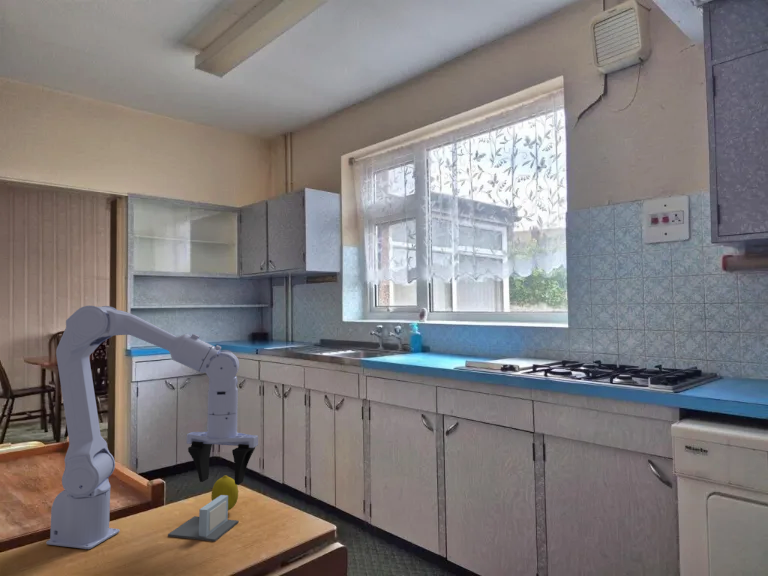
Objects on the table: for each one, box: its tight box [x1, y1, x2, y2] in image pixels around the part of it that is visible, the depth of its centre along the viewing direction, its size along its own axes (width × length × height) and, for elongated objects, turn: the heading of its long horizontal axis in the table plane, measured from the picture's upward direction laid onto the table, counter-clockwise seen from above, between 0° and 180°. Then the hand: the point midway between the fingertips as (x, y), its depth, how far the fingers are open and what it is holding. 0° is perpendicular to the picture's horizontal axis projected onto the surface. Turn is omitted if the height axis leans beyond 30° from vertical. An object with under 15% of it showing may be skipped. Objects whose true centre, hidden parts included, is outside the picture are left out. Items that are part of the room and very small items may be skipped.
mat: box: [167, 515, 239, 542], centre depth 103 cm, size 10×9×1 cm
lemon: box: [210, 475, 239, 511], centre depth 111 cm, size 6×6×8 cm
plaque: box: [198, 495, 229, 537], centre depth 103 cm, size 2×8×5 cm, turn 168°
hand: (221, 481), depth 103 cm, fingers open, 7 cm apart
